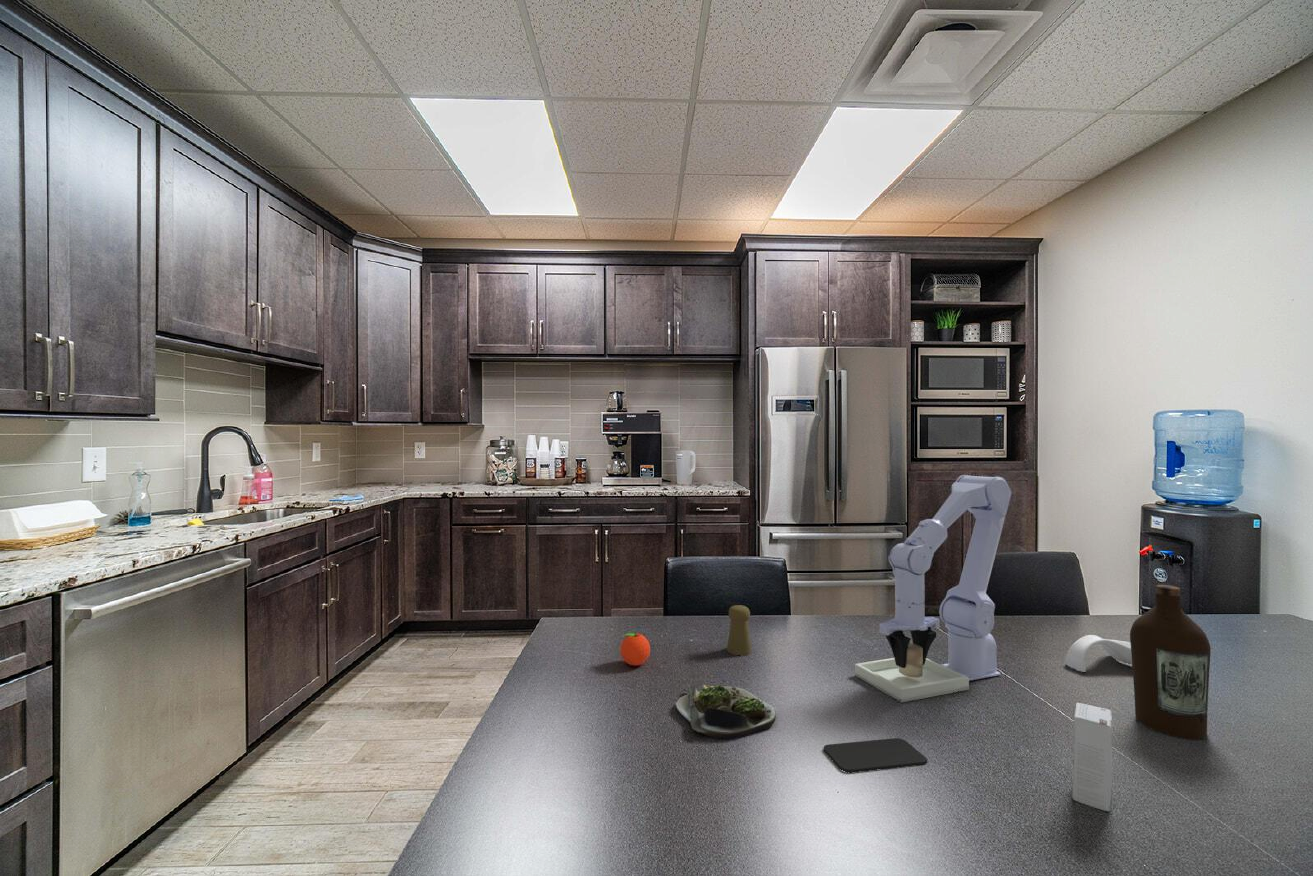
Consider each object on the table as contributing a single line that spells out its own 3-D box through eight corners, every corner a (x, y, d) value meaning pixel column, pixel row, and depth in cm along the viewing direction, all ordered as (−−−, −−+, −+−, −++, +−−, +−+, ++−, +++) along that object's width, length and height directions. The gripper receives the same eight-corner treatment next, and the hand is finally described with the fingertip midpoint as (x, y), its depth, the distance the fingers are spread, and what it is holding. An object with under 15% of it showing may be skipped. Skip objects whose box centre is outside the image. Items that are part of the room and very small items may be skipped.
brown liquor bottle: (1119, 708, 105) (1117, 577, 106) (1188, 716, 102) (1186, 582, 102) (1150, 736, 95) (1148, 591, 95) (1227, 746, 92) (1225, 596, 92)
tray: (917, 665, 126) (917, 654, 126) (969, 689, 113) (968, 677, 113) (854, 675, 120) (854, 664, 120) (901, 702, 107) (901, 689, 107)
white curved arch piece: (1127, 653, 134) (1127, 623, 134) (1183, 672, 123) (1183, 640, 123) (1050, 661, 129) (1050, 631, 129) (1101, 682, 117) (1101, 649, 117)
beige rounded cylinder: (911, 667, 119) (911, 642, 119) (927, 675, 115) (927, 649, 115) (894, 669, 118) (894, 644, 118) (910, 678, 114) (910, 652, 114)
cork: (751, 656, 131) (751, 610, 131) (726, 654, 132) (726, 609, 132) (752, 647, 137) (752, 603, 137) (727, 646, 138) (727, 602, 138)
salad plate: (653, 701, 108) (653, 678, 108) (729, 685, 116) (729, 663, 116) (703, 750, 91) (703, 722, 91) (788, 727, 99) (788, 701, 99)
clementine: (610, 667, 125) (610, 635, 125) (623, 656, 131) (624, 626, 131) (643, 672, 122) (643, 640, 122) (654, 661, 128) (654, 630, 128)
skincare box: (1074, 781, 82) (1073, 700, 82) (1113, 793, 79) (1112, 709, 79) (1071, 801, 77) (1070, 715, 78) (1113, 815, 74) (1111, 725, 75)
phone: (931, 761, 86) (843, 770, 84) (931, 767, 86) (843, 776, 84) (901, 737, 94) (820, 745, 91) (901, 742, 94) (820, 750, 91)
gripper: (896, 609, 111) (897, 676, 110) (951, 602, 116) (951, 667, 115) (872, 600, 117) (872, 663, 117) (924, 594, 122) (925, 655, 122)
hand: (910, 664), depth 117 cm, fingers closed on beige rounded cylinder, 5 cm apart
